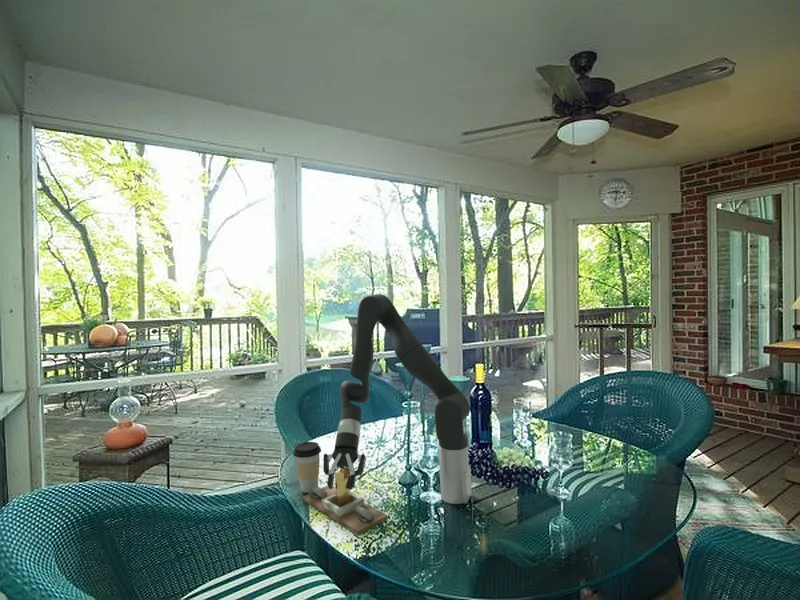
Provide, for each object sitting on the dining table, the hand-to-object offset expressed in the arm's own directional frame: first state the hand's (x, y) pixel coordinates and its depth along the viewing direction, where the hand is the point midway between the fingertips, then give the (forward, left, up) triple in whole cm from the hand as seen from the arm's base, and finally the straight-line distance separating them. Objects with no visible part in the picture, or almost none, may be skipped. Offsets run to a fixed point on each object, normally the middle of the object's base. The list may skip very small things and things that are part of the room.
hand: (340, 488), depth 138 cm
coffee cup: (+18, -10, -8) cm, 22 cm away
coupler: (0, -2, -6) cm, 7 cm away
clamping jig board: (0, -2, -8) cm, 8 cm away
